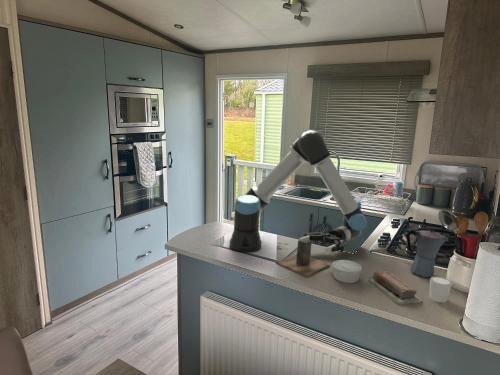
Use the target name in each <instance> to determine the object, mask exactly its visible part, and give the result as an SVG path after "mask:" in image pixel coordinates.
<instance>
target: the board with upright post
mask: <svg viewBox="0 0 500 375" xmlns="http://www.w3.org/2000/svg"><path fill="white" fill-rule="evenodd" d="M312 243H313V242H312V241H310V240H307V239H301V240H299V239H298V240H297V250H296V253H295V254H293V255H290V256H288V257H285V258H283V259H281V260H280V259H279V260H277V261H276V262H275V264H276V265H278V266H281V267H283V268H285V269H287V270H290V271H292V272H294V273H297V274H298V275H300V276H302V277H305V278H308V277H310V276H312V275H314V274H316V273H319V272H320V271H323V270H325V269H327V268H329V267H330V266H331V265H330V264H329V263H326V262H324V261H322V260H319V259H316V258H314V257H311V253H312Z"/></svg>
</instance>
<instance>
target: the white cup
mask: <svg viewBox="0 0 500 375" xmlns="http://www.w3.org/2000/svg"><path fill="white" fill-rule="evenodd" d="M452 286H453V282H452V281H450V280H449V279H447V278H445V277H441V276H433V277H431V278H429V293H428V297H430V298H431V299H430V298H429V299H430V300H431V301H433V300H434V301H433V302H436V301H437V302H436V303H439V302H446V301H447V302H448V299H449V296H450V293H451V290H452ZM447 302H446V303H447Z"/></svg>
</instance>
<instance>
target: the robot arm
mask: <svg viewBox="0 0 500 375" xmlns="http://www.w3.org/2000/svg"><path fill="white" fill-rule="evenodd" d="M331 155H332V154H331V153H330V150H329V149H328V146H327V144H326V141H325V139H324V137H323V135H322V134H321V133H320V132H319V131H318V130H316V129H307V130H304V131H303V132H301V133H300V135H299V136H298V138H297V139H296V140H295V141H294V142H293V143H292V144H291V145H290V151H289V152H288V153H287V154H286V155H285V156H284V157H283V158H282V160H280V161H279V162H278V164H277V165H276V166H275V167H273V169H272V170H271V171H270V172H269V173H268V174H267V175H266V176H265V177H264V179H262V180H261V181H260V183H258V185H254V186H252V187H251V188H250V189H249V190H248V191H247V192H246V193H245V194H243V195H240V196H238V197H236V199H235V201H234V206H233V207H234V220H233V221H234V222H233V232H232V234H231V237H230V240H229V247H230V248H231V249H232V250H233V251H237V252H242V253H253V252H258V251H259V250H261V249H262V244H263V243H262V240H261V235H260V215H261V213H262V212H263V211H264V209H266V207H267V206H268V205H269V204H270V202H271V200H270V199H271V197H273V195H275V193H276V192H278V190H280V189H281V187H283V185H284V184H285V183H286V182H287V181H288V180H289V179H290V178H291V177H292V176H293V175H294V173H296V172H297V171H298V170H299V168H300V167H301V166H302V165H303V164H308V163H309V164H310V166H311V167H314V168H315V169H316V171H317V173H318V174H319V177H320V178H321V179H322V182H324V184H325V186H326V188H327V190H328V191H329V193H330V194H331V196H332V198H333V199H334V201H335V203H336V205H337V206H338V208H339V210H340V211H341V214H343V219H342V226H339V227H336V228H334V229H331V230H330V231H329V232H328V233H324V232H323V231H317V232H305V233H304V234H303V235H304V236H302V237H299V239H298V240H301V239H307V240H310V241H315V242H322V243H328V244H331V245H330V246H327V247H326V248H325V252H324V254H325V255H329V254H332V253H335V252H339V251H340V252H341V253H344V249H345V246H347V242H349V241H352V240H354V239H357V238H358V237H360V236H361V234H362V230H364V229H365V228H366V226H367V224H368V223H367V222H368V221H367V217H366V216H365V215H364V213H363V212H362V202H361V201H359V200H356V199H355V198H354V196H353V194H352V193H351V191H350V190H349V188H348V186H347V185H346V183H345V181H344V179H343V177H342V176H341V174H340V173H339V171H338V169H337V167H336V166H335V164H334V162H333V161H332V159H331Z"/></svg>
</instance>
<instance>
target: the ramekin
mask: <svg viewBox="0 0 500 375" xmlns="http://www.w3.org/2000/svg"><path fill="white" fill-rule="evenodd" d="M331 267H332V273H333V275H332V276H333V278H334V279H335V280H337V281H339V282H341V283H343V284H344V283H346V284H355V283H357V281H359V278H360V276H361V272H362V270H363V267H362V266H361V264H359V263H357V262H355V261H352V260H348V259H347V260H346V259H338V260H334V261H333V262H332V264H331Z"/></svg>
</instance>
